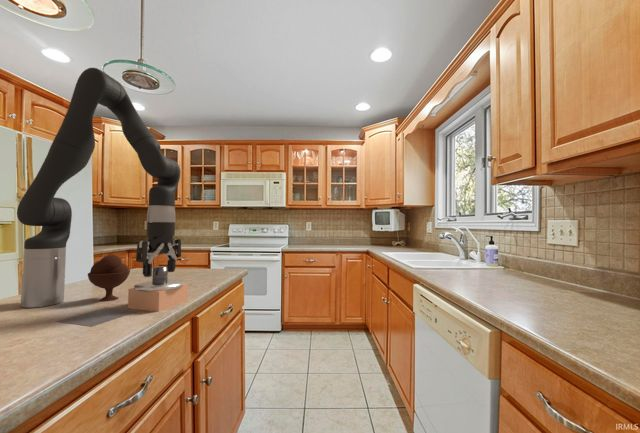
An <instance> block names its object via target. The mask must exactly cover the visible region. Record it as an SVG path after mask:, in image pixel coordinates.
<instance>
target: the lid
mask: <svg viewBox="0 0 640 433" xmlns="http://www.w3.org/2000/svg"><path fill="white" fill-rule="evenodd" d="M168 276H169V272H168V266H167V265H160V266H159V265H158V266H152V279H151V280H148V281H147V280H146V281H143V282H140V283H139V282H138V283H137V284H135V285H133V288H134V290H137V291H162V290H169V289H174V288H178V287H181V286H183V285H184V283H185V282H184V280H181V279H175V278H174V279H173V278H171V279H168V278H169V277H168Z"/></svg>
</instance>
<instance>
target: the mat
mask: <svg viewBox="0 0 640 433" xmlns="http://www.w3.org/2000/svg"><path fill="white" fill-rule="evenodd" d="M137 312H139V311H138V310H132V309H131V310H130V309H124V308H123V309H122V308H115V307H114V308H112V307H103V308H100V309H95V310H91V311H89V312H84V313H81V314H78V315H77V314H76V315H75V316H70V317H67V318H63V319H60V320H57V321H55V322H56V323H62V324H69V325H76V326H84V327H92V328H93V327H95V326H98V325H102V324H104V323H107V322H111V321H113V320H114V321H115V320H116V319H119V318H122V317H125V316H129V315H132V314H135V313H137Z"/></svg>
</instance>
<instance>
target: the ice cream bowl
mask: <svg viewBox="0 0 640 433" xmlns="http://www.w3.org/2000/svg"><path fill="white" fill-rule="evenodd" d="M130 272H131V269H129V266H127V265H126V264H124V263H123V260H122V258H121V257H120V256H118V255H117V254H116V255H115V254H107V255H104V256H103V257H102V258H101V259H100V260H98V261H96V262H95V263H93V264H92V266H91V268H90V271H89V273H87V278H88V280H89V282H90V283H91V284H93V285H94V286H95V287H97V288H101V289H104V290H105V296H104V297H102V298H100V299H99V300H98V301H99V302H104V303H105V302H112V301H116V300H119V297H117V296H115V295H113V290H114V289H115V288H118V287H119V286H120V285H122V284H123V283H124V282H125V281H126V280H127V279H128V277H129V276H130Z"/></svg>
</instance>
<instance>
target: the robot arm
mask: <svg viewBox="0 0 640 433" xmlns="http://www.w3.org/2000/svg"><path fill="white" fill-rule="evenodd" d="M73 89H74V90H73V92H72V95H71V100H70V103H69V106H68V108H67V111H66V112H65V115H64V117H63V120H62V123H61V125H60V127H59V129H58V130H57V133H56V135H55V136H54V138H53V140H52V142H51V145H50V147H49V150H48V152H47V154H46V157H45V158H44V159H43V160H44V161H43V162H42V164H41V166H40V168H39V170H38V173H37V174H36V176H35V178H34V179H33V181H32V182H31V184H30V185H29V187H28V188H27V190H26V192H25V193H24V194H23V196H22V198H21V200H19V204H18V207H17V209H16V210H17V211H16V216H17V220H18V221H19V222H20V223H21V224H22V225H25V226H29V227H30V226H31V227H41V230H40V232H39V233H37V234H35V235H34V236H32V237H31V236H30V237H29V238H27V239H25V240H24V243H23V268H22V274H21V292H20V305H21V307H22V308H27V309H28V308H29V309H30V308H41V307H47V306H53V305H57V304H60V303H63V302H64V301H65V289H66V288H65V284H66V283H65V281H66V280H65V278H66V259H67V258H66V254H67V242H68V240H69V239H70V235H71V228H72V227H71V226H72V225H71V224H72V218H73V216H72V214H73V213H72V212H73V211H72V207H71V203H69V201H67V200H66V199H64V198H62V197H55V195H56V194H57V192H58V190H59V189H60V188H61V186H63V185H64V183H66V182H67V181H69V180H70V179H71V178H73V177H74V176H76V175H77V174H79V173H80V172H81V171H82V170H84V168H85V167H86V166H87V165H88V163H89V161H90V159H91V157H92V154H93V153H94V150H95V148H96V147H95V146H96V138H95V133H94V132H95V131H94V124H93V119H94V114H95V112H96V109H97V107H98V105H101V106H103V107H106V108H107V109H108V110H109V111H110V112H112V113H113V114H114V116H116V118H117V119H118V121H119V122H120V124H121V130H122V133H123V135H124V138H125V139H126V141H127V142H128V143H129V144H130V146H131V148H133V150H134V151H135V152H136V154H137V157H138V159H139V162H140V164H141V166H142V168H143V170H144V171H145V172H146V173H147V174H148V175H149V176H151V177H153V178H157V179H158V180H157V183H156V186H152V187H151V188H149V190H148V205H147V207H148V208H147V213H146V236H147V241H146V240H138V241H137V243H136V255H135V256H136V257H135V262H136V263H141V264H142V275H143V277H144V278H151V277H153V264H152V262H154V261H153V260H155V258H157V257H158V255H165V257H166V258H167V265H166V266H168V273H174V272H175V270H176V261H177V259H178V258H181V257H182V239H180V238H173V237H174V236H175V235H176V191H177V189H178V186H179V182H180V178H181V168H180V164H179V163H178V162H177V161H176V160H174V159H172V158H169V157H168V156H166V155H164V154H163V153H162V152H161V144H160V142H159V141H158V140H157V138H156V137H155V135H154V134H153V133H152V131H151V130H150V129H149V127H148V126H147V125H146V124H145V122H144V121H143V119H142V117H141V116H140V115H139V114H138V111H137V109H136V108H135V106H134V104H133V103H132V101H131V98H130V96H129V94H128V91H126V89H125V86H123V84H122V83H121V82H119V81H118V80H116V79H114V77H112V76H110V75H109V74H108V73H106V72H104V71H103V70H101V69H99V68H96V67H88V68H87V69H85V70H83V71H82V72H81V74H80V75H79V77H78V78H77V81H76V84H75V86H74V88H73Z"/></svg>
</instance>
